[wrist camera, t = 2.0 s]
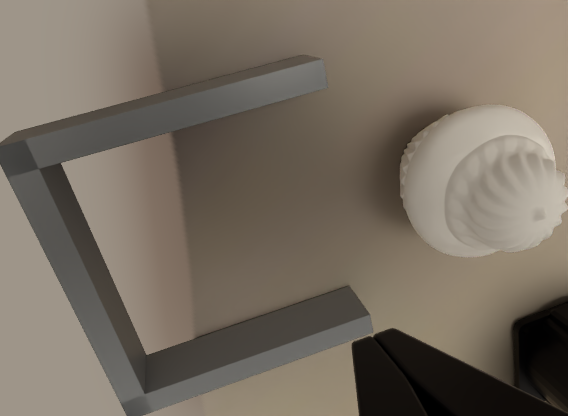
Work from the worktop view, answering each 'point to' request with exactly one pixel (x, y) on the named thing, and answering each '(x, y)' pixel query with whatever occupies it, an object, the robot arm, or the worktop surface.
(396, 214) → the worktop surface
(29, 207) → the frame
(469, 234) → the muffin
